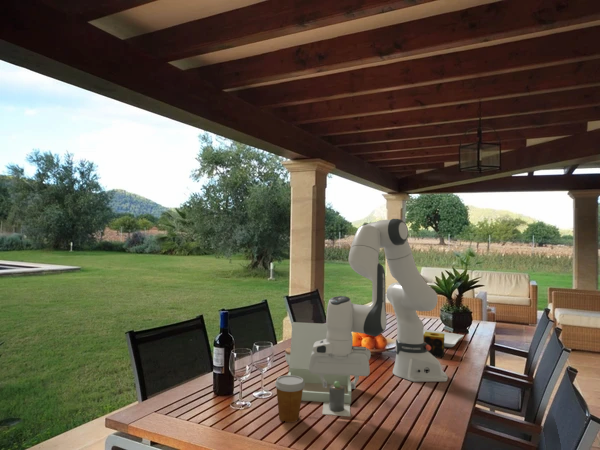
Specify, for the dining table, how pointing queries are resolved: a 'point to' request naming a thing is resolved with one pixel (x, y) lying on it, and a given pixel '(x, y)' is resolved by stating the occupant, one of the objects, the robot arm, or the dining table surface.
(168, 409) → the dining table surface
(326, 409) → the stone tile
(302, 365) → the pale grey-green hollow box
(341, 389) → the nursery pot
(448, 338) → the square plate
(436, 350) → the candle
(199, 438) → the dining table surface
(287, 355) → the lidded jar
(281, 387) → the disposable coffee cup
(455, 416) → the dining table surface
